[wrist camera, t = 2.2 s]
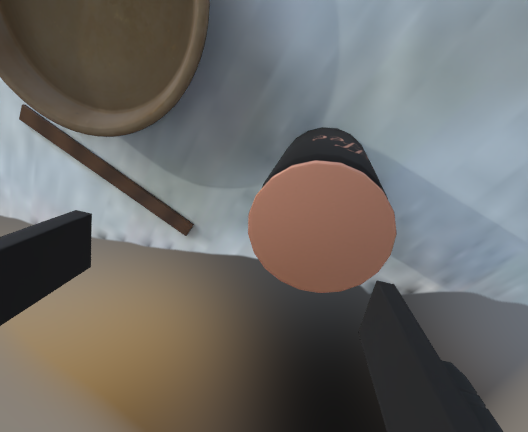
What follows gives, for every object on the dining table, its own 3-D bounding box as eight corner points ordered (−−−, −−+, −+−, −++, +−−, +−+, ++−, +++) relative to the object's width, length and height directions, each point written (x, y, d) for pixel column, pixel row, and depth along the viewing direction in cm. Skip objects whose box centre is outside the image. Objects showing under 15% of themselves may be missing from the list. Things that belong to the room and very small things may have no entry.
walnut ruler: (21, 118, 43) (18, 119, 43) (24, 104, 42) (21, 104, 42) (187, 235, 46) (185, 236, 45) (194, 224, 45) (193, 225, 44)
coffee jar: (385, 175, 36) (429, 250, 20) (316, 221, 40) (306, 313, 24) (332, 106, 34) (333, 127, 18) (266, 163, 38) (219, 220, 22)
